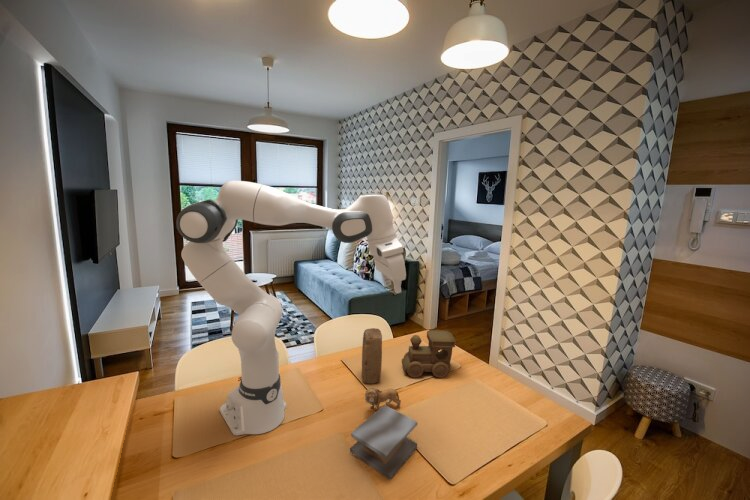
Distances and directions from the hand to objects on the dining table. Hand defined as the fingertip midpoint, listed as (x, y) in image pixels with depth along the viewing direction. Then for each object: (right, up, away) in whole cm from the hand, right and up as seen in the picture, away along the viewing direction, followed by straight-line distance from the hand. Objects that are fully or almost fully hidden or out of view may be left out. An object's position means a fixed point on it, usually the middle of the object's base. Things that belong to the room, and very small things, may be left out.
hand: (393, 288), depth 99 cm
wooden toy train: (+16, -40, +37) cm, 56 cm away
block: (-7, -40, +31) cm, 51 cm away
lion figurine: (-3, -43, +12) cm, 45 cm away
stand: (-3, -46, -6) cm, 47 cm away
